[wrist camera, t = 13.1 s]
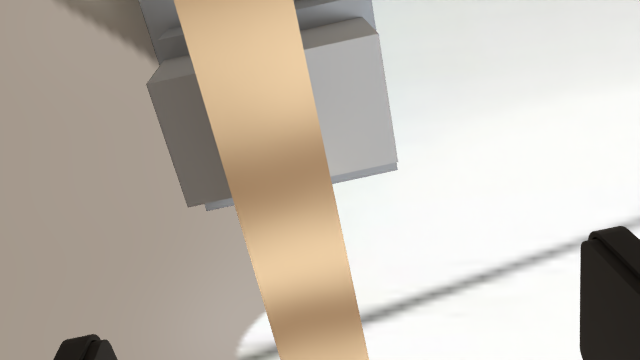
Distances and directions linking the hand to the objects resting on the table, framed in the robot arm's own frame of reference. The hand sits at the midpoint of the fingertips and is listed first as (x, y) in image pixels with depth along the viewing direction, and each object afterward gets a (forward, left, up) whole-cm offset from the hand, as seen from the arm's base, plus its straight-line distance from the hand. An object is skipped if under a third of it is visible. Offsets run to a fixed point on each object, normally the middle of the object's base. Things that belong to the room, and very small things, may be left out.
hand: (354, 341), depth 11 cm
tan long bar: (0, -1, -15) cm, 15 cm away
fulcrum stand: (+1, -1, -24) cm, 24 cm away
